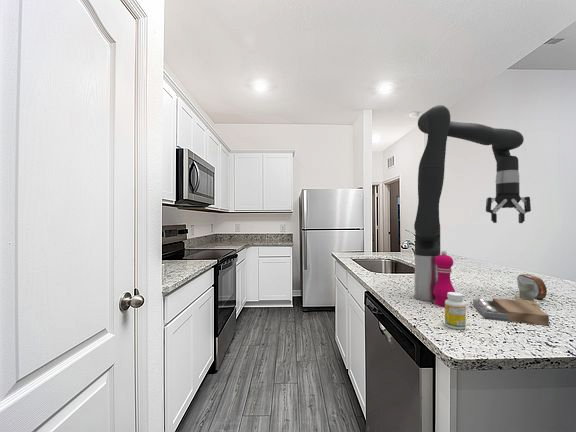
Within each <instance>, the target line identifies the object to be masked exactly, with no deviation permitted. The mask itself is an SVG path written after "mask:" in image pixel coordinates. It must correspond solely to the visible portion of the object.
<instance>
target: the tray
mask: <svg viewBox="0 0 576 432" xmlns="http://www.w3.org/2000/svg"><path fill="white" fill-rule="evenodd" d="M476 299H477V298H476ZM476 299H475V298H473V299H472V305H473V306H474V307H475V308H476V309H477V311H478V312H479V313H480V314H481V316H482V317H483V318H484V319H485V320H486V319H487V320H496V321H504V322H509V321H508V314H503V313H500V312H498V313H494V312H488V311H486V310H484V309H483V307H482V306H481V305H479V303H478V302H477V301H476ZM485 300H486V299H485ZM486 301H487V302H489V303H490V305H491V306H492V307H494V306H493V300H486ZM494 308H495V307H494ZM495 309H496V308H495ZM496 310H497V309H496Z"/></svg>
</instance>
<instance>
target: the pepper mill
mask: <svg viewBox="0 0 576 432" xmlns="http://www.w3.org/2000/svg"><path fill="white" fill-rule="evenodd" d="M435 264H436V265H437V270H436V271H437V272H438V280H437V282H436V284H435V286H434V289H433V294H434V295H435V296H436V298H435V301H434V305H436V306H438V307H439V306H440V307H442V308H445V301H446V300H447V299H448V297H447V293H448V292H456V290H455V287H454V285H453V283H452V280H451V273H453V272H452V269H453V268H452V266H454V259H453V257H451V256H450V255H448V254H447V251H446V250H441V251H440V255H438V256H437V257H436V258H435Z"/></svg>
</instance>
